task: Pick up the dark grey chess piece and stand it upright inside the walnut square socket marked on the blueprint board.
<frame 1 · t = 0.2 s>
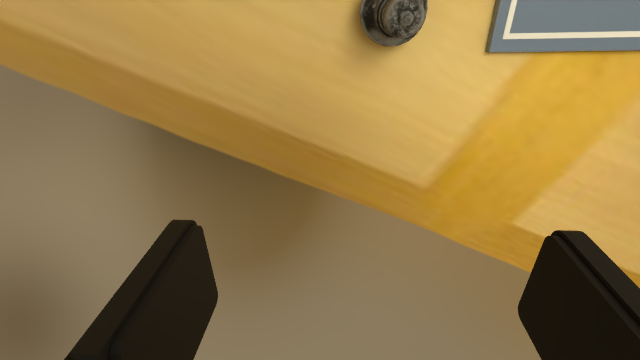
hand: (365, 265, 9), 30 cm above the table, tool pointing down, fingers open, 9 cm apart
dark grey chess piece: (388, 8, 33), on the table
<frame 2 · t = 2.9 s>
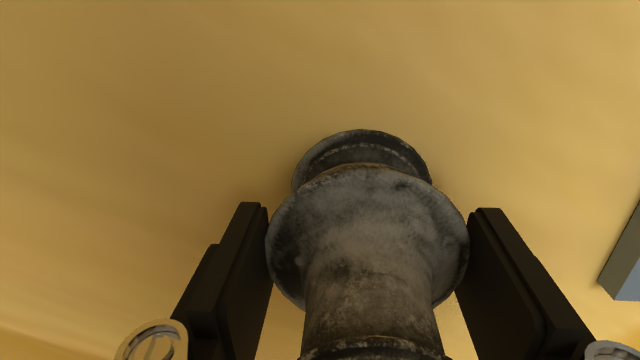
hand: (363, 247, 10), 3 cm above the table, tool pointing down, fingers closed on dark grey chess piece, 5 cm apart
dark grey chess piece: (359, 192, 13), on the table, touching gripper
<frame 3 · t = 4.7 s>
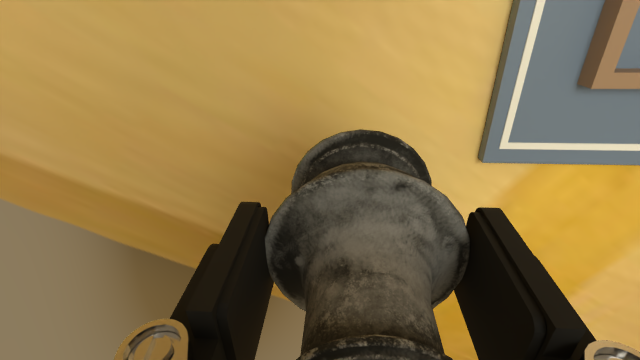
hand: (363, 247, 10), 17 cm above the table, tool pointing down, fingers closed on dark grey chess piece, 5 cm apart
dark grey chess piece: (359, 192, 13), point 14 cm above the table, touching gripper
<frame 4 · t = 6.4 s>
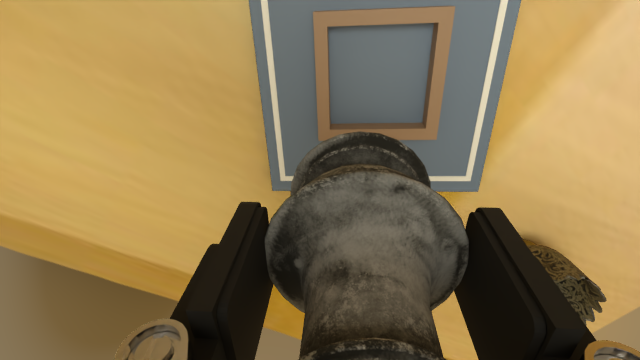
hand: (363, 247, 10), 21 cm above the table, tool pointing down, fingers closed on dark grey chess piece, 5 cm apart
blueprint board: (377, 74, 28), on the table
cup: (517, 248, 36), on the table
dark grey chess piece: (359, 193, 13), point 18 cm above the table, touching gripper
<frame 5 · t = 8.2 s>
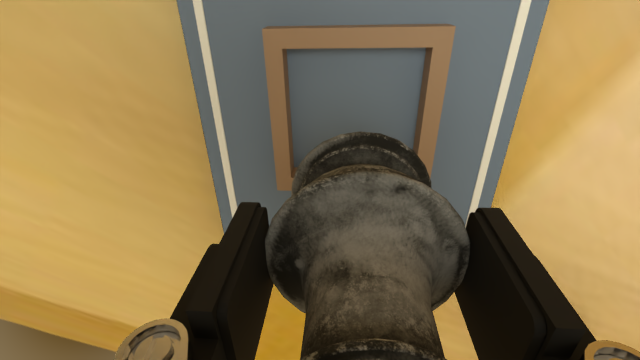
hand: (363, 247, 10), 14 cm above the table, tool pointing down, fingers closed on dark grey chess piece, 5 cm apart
blueprint board: (353, 107, 22), on the table
dark grey chess piece: (359, 193, 13), point 10 cm above the table, touching gripper
when the fingers open (6 cm above the table, at t = 10.0 s): dark grey chess piece drops 2 cm, resting on blueprint board.
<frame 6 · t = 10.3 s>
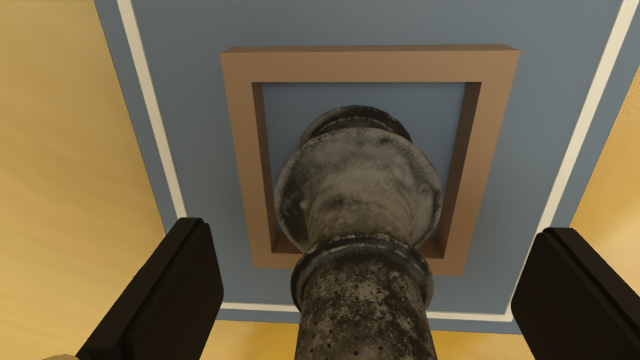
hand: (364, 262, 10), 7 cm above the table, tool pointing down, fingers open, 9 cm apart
blueprint board: (357, 155, 16), on the table
dark grey chess piece: (354, 161, 15), point 1 cm above the table, touching blueprint board
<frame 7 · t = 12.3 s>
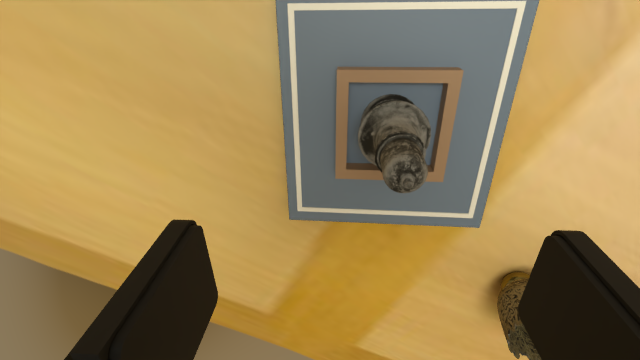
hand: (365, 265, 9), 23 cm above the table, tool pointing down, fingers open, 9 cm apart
blueprint board: (390, 120, 31), on the table
cup: (514, 279, 39), on the table
dark grey chess piece: (389, 122, 30), point 1 cm above the table, touching blueprint board
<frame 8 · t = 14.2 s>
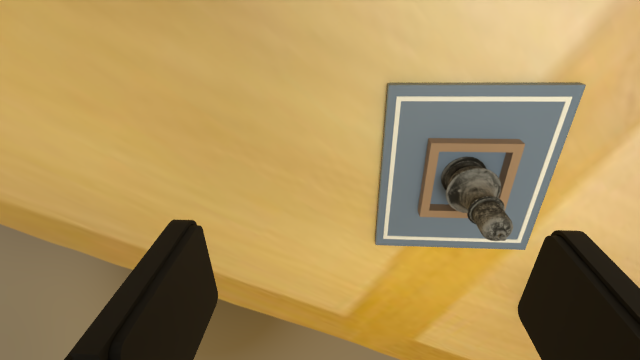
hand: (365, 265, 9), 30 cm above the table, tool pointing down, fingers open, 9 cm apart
blueprint board: (462, 173, 41), on the table
dark grey chess piece: (463, 175, 40), point 1 cm above the table, touching blueprint board
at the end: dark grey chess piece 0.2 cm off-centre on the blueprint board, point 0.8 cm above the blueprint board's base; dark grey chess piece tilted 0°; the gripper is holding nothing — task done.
